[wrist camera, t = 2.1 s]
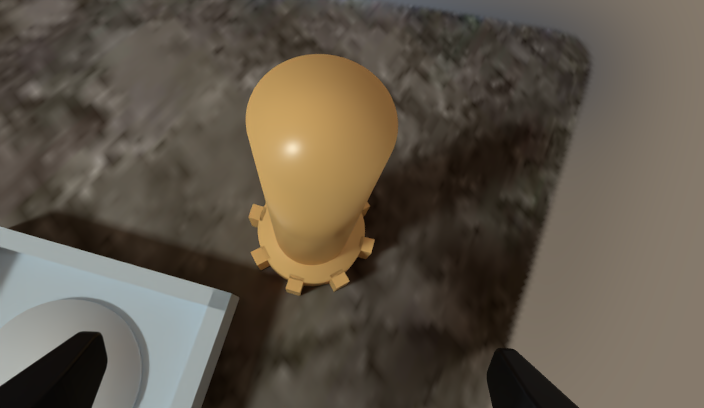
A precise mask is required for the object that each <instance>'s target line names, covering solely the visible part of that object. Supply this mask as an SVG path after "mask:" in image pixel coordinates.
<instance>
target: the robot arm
mask: <svg viewBox="0 0 704 408" xmlns="http://www.w3.org/2000/svg"><path fill="white" fill-rule="evenodd" d="M107 363H108V357H107V352H106V348H105V344H104V339H103V336H102V334H101V333H100V332H95V331H81V332H78V333H76V334H75V335H73V336H72V337H71V338H69V339H68V340H66V341H65V342H63V343H62V344H60V345H59V346H57V347H56V348H55V349H53V350H52V351H50V352H49V353H47V354H46V355H44V356H43V357H41V358H40V359H39V360H37V361H36V362H34V363H33V364H31V365H30V366H28V367H27V368H25V369H24V370H23V371H21V372H20V373H18V374H17V375H15V376H14V377H12V378H11V379H10V380H8V381H7V382H5V383H4V384H2V385H1V386H0V408H92V406H93V403H94V401H95V398H96V395H97V392H98V390H99V387H100V384H101V382H102V379H103V376H104V374H105V371H106V368H107ZM487 383H488V388H489V393H490V397H491V402H492V407H493V408H579V407H578V406H576V405H575V404H574V403H573V402H572V401H571V400H570V399H569V398H568V397H567V396H566V395H564V394H563V393H562V392H561V391H560V390H559V389H558V388H557V387H556V386H555V385H553V384H552V383H551V382H550V381H549V380H548V379H547V378H546V377H545V376H544V375H542V374H541V373H540V372H539V371H538V370H537V369H536V368H535V367H534V366H532V365H531V364H530V363H529V362H528V361H527V360H526V359H525V358H523V356H522V355H520V354H519V353H518V352H517V351H516V350H514V349H508V348H498V349H496V350H495V352H494V355H493V357H492V360H491V363H490V365H489V368H488V371H487Z"/></svg>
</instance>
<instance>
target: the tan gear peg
mask: <svg viewBox="0 0 704 408" xmlns="http://www.w3.org/2000/svg"><path fill="white" fill-rule="evenodd" d="M246 129H247V134H248V138H249V142H250V145H251V149H252V153H253V156H254V160H255V164H256V167H257V171H258V175H259V178H260V182H261V186H262V189H263V193H264V197H265V200H266V204H265V206H264V207H262V206H259V205H255V204H253V206H252V209H251V212H250V214H249V220H250V222H251V224H252V226H254V227H258V238H259V243H260V246H261V247H260V248H258V249H256V250H254V251H252V252H251V254H252V256H253V258H254V260H255V262H256V264H257V266H258V267H259V269H260V270H263V269H265V268H267V267H269V266H271V267H272V269H273V270H274V271H275V272H276V273H277V274H278V275H279V276H281V277H282V278H284V279H285V280H287V281H288V283H287V286H286V291H287V292H288V293H292V294H295V295H299V296H300V295H301V292H302V288H303V286H319V285H324V284H327V283H329V284H330V285H331V287H332V289H333V291H334V292H335V291H337V290H338V289H340V288H342V287H344V286H345V285H347V283H348V282H349V279H348V277H347V276H346V274H345V272H346V271H347V270H348V269H349V268H350V267H351V265H352V264H353V263H354V261H355V260H356V258H357V257H360V258H363V259H367V257H368V256H369V255H370V254H371V252H372V248H373V245H374V241H375V240H374V239H371V238H367V237H365V223H364V219H363V216H365V215H366V213H367V211H368V209H369V207H370V205H369V204H368V202H367V201H368V199H369V197H370V195H371V193H372V191H373V189H374V187H375V185H376V183H377V181H378V179H379V177H380V175H381V173H382V171H383V169H384V167H385V165H386V163H387V161H388V159H389V157H390V155H391V153H392V151H393V149H394V146H395V143H396V139H397V133H398V118H397V112H396V108H395V105H394V102H393V100H392V97H391V96H390V94H389V92H388V90H387V89H386V87H385V86H384V85H383V83H382V82H381V81H380V80H379V79H378V78H377V77H376V76H375V75H374V74H373V73H371V72H370V71H369V70H368V69H366V68H364V67H363V66H361V65H360V64H358V63H356V62H354V61H351V60H348V59H346V58H343V57H339V56H334V55H327V54H312V55H304V56H299V57H296V58H293V59H290V60H287V61H285V62H283V63H281V64H279V65H278V66H276V67H274V68H273V69H272V70H270V71H269V72H268V73H267V74H266V75H265V76H264V77H263V78H262V79H261V80H260V81H259V83H258V84H257V86H256V87H255V88H254V90H253V92H252V94H251V96H250V99H249V102H248V105H247V111H246Z"/></svg>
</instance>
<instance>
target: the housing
mask: <svg viewBox="0 0 704 408" xmlns="http://www.w3.org/2000/svg"><path fill="white" fill-rule="evenodd" d="M238 301H239V297H237V296H236V295H234V294H232V293H229V292H225V291H222V290H218V289H215V288H211V287H208V286H204V285H201V284H197V283H194V282H190V281H187V280H184V279H180V278H177V277H173V276H170V275H166V274H163V273H159V272H156V271H152V270H149V269H145V268H142V267H138V266H135V265H131V264H128V263H125V262H121V261H118V260H114V259H111V258H107V257H104V256H100V255H97V254H93V253H90V252H86V251H83V250H79V249H76V248H72V247H69V246H65V245H62V244H59V243H55V242H52V241H48V240H45V239H41V238H38V237H34V236H31V235H27V234H24V233H20V232H17V231H13V230H10V229H6V228H3V227H0V386H1V385H2V384H4V383H5V382H7V381H8V380H10V379H11V378H12V377H14V376H15V375H17V374H18V373H20V372H21V371H23V370H24V369H25V368H27V367H28V366H30V365H31V364H33V363H34V362H36V361H37V360H39V359H40V358H41V357H43V356H44V355H46V354H47V353H49V352H50V351H52V350H53V349H55V348H56V347H57V346H59V345H60V344H62V343H63V342H65V341H66V340H68V339H69V338H71V337H72V336H73V335H75V334H76V333H78V332H81V331H95V332H100V333H101V334H102V336H103V339H104V344H105V348H106V352H107V357H108V363H107V368H106V371H105V374H104V376H103V379H102V382H101V384H100V387H99V390H98V392H97V395H96V398H95V401H94V403H93V406H92V408H201V407H202V404H203V401H204V398H205V395H206V393H207V390H208V387H209V384H210V381H211V378H212V375H213V373H214V370H215V367H216V364H217V361H218V358H219V355H220V353H221V350H222V347H223V344H224V341H225V338H226V335H227V332H228V330H229V327H230V324H231V321H232V318H233V315H234V312H235V310H236V307H237V304H238Z"/></svg>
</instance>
